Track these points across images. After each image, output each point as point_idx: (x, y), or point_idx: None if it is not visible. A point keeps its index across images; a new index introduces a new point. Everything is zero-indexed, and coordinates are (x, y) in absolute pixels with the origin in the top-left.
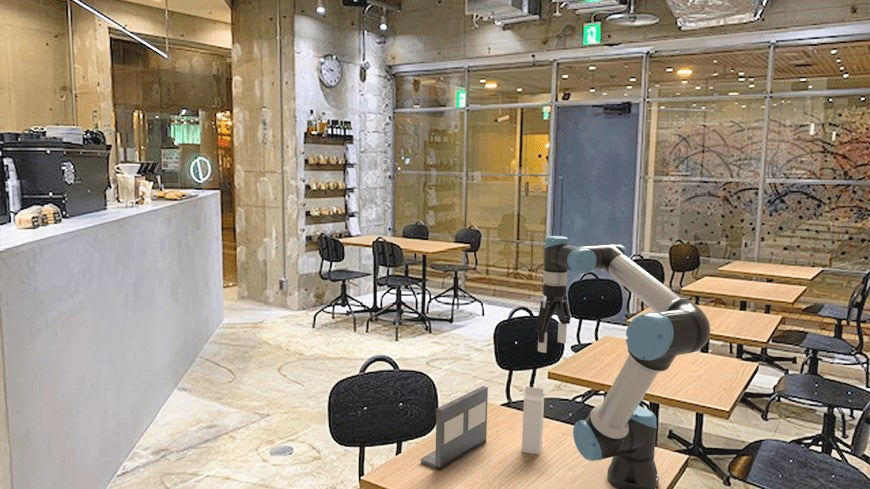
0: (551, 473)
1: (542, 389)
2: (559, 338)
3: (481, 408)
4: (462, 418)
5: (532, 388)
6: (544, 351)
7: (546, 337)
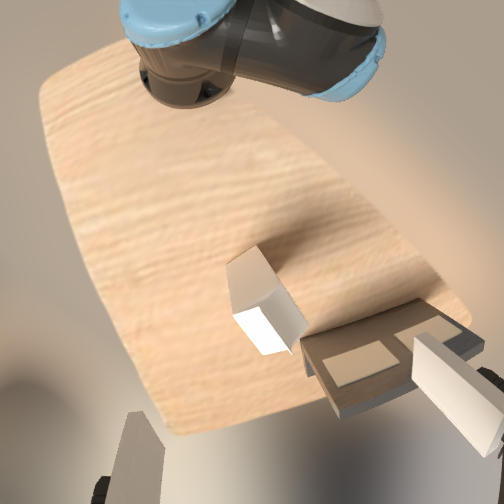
0: (296, 176)
1: (263, 313)
2: (157, 459)
3: (350, 373)
4: (413, 347)
5: (281, 338)
6: (430, 339)
7: (486, 389)
